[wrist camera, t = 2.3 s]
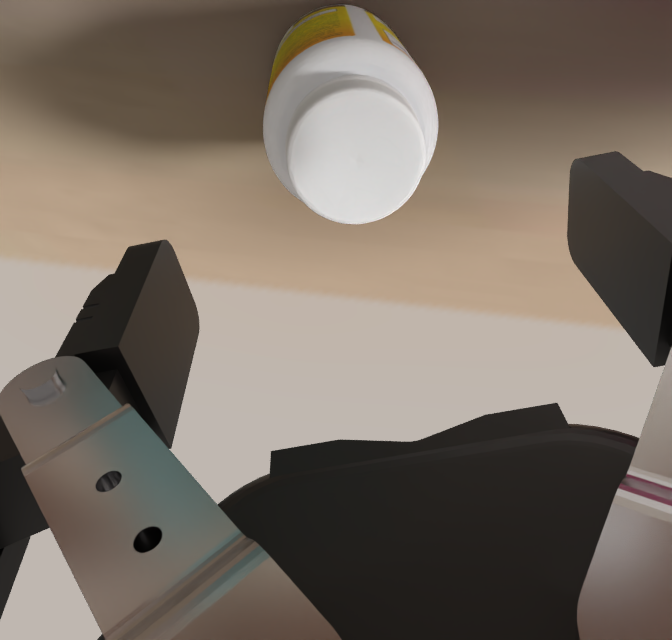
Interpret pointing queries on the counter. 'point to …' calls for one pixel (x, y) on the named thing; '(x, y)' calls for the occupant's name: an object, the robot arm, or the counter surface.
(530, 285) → the counter surface
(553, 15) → the counter surface
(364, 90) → the supplement bottle
